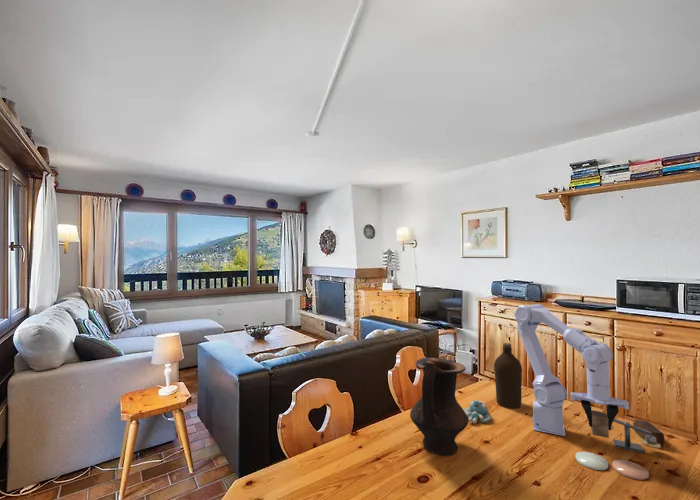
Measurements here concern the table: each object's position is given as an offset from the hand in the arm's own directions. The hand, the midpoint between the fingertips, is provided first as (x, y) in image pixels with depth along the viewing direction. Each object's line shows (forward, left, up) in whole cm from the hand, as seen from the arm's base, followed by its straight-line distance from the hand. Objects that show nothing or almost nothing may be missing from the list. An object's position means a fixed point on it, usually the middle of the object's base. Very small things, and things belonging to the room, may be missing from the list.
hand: (599, 427), depth 106 cm
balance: (+8, +8, -8) cm, 14 cm away
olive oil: (-28, +26, -8) cm, 39 cm away
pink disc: (+6, -7, -8) cm, 12 cm away
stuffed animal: (-38, +6, -8) cm, 39 cm away
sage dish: (-3, -7, -8) cm, 11 cm away
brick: (+15, +17, -8) cm, 24 cm away
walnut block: (0, 0, -2) cm, 2 cm away
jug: (-45, -21, -8) cm, 50 cm away
